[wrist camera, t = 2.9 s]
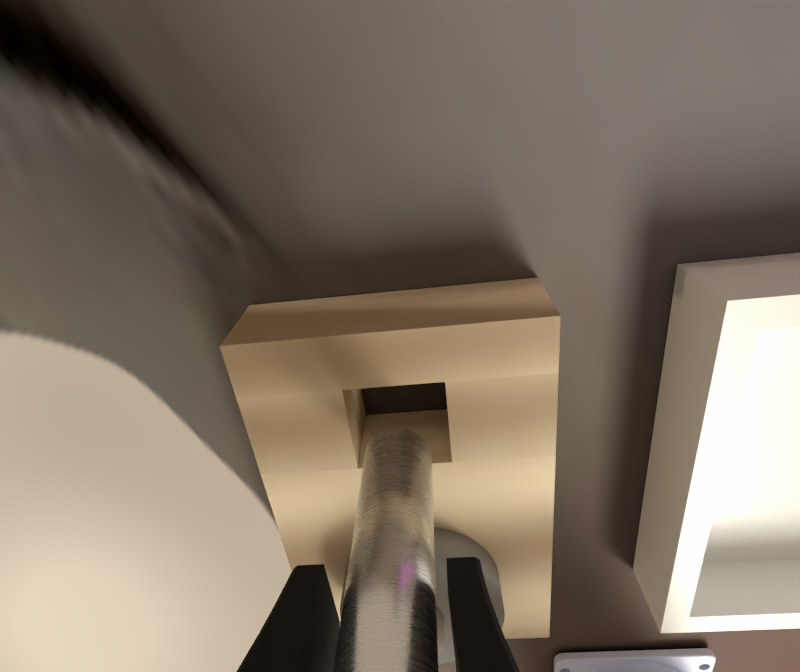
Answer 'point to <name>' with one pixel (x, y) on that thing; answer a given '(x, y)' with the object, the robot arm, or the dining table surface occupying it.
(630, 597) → the dining table surface
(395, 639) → the pin
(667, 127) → the dining table surface
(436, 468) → the block
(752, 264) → the tray
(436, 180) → the dining table surface
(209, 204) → the dining table surface
